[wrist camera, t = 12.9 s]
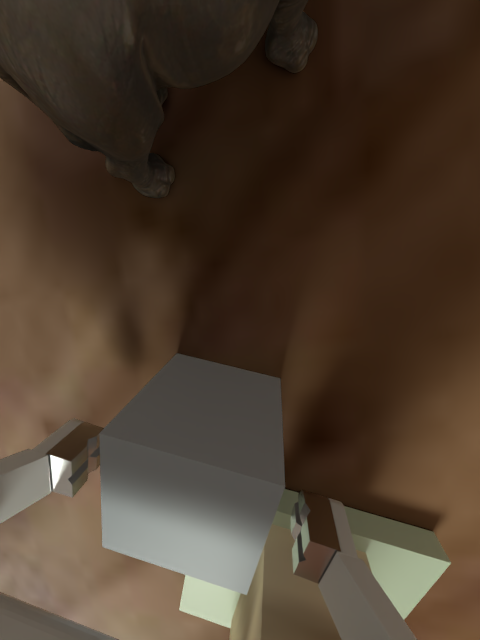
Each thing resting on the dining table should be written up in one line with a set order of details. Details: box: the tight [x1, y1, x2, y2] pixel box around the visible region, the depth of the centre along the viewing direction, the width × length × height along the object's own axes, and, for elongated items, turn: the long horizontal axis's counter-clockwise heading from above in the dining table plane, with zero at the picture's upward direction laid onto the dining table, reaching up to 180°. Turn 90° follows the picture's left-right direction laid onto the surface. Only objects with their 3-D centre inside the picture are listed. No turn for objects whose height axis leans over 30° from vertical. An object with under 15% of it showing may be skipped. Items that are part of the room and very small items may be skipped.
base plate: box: [179, 489, 451, 628], centre depth 13 cm, size 12×12×1 cm
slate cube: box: [99, 353, 285, 595], centre depth 9 cm, size 5×5×5 cm
